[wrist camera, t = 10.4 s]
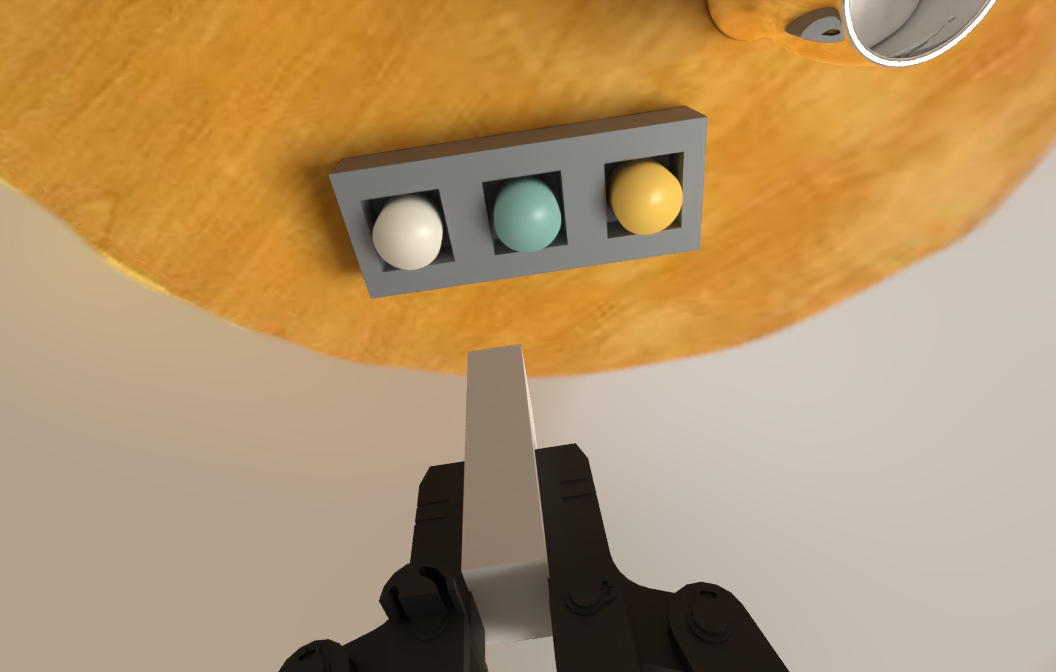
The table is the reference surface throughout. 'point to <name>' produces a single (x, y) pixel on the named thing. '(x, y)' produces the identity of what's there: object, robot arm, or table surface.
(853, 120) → the table surface
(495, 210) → the button teal
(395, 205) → the button ivory
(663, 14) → the table surface
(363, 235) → the console
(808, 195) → the table surface
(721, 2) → the beer glass
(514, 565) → the robot arm
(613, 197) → the button amber
